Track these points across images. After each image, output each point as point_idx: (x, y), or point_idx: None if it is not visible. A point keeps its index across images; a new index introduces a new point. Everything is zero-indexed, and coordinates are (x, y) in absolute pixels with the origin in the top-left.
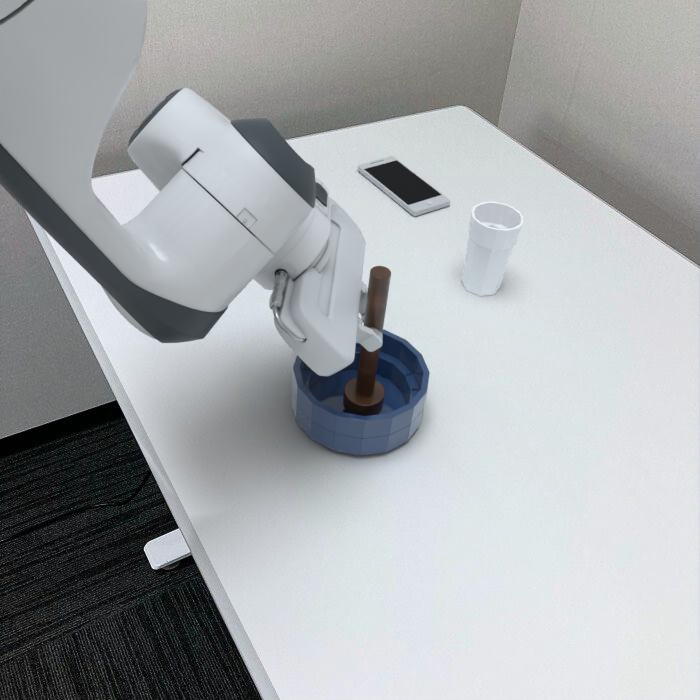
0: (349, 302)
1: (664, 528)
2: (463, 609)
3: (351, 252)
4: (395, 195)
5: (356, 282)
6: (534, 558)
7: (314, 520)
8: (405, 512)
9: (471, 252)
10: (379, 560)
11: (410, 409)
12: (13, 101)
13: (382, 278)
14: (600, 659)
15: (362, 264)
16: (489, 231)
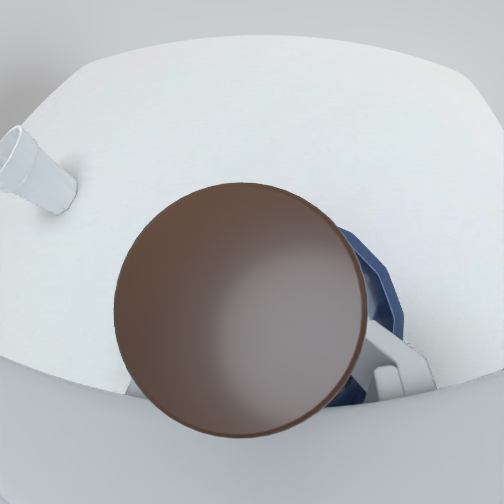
0: (439, 462)
1: (358, 53)
2: (496, 194)
3: (30, 442)
4: None
5: (203, 446)
6: (433, 133)
7: (463, 352)
8: (435, 251)
9: (32, 191)
10: (487, 272)
11: (357, 239)
12: None
13: (358, 271)
14: (478, 110)
15: (62, 386)
16: (15, 156)
